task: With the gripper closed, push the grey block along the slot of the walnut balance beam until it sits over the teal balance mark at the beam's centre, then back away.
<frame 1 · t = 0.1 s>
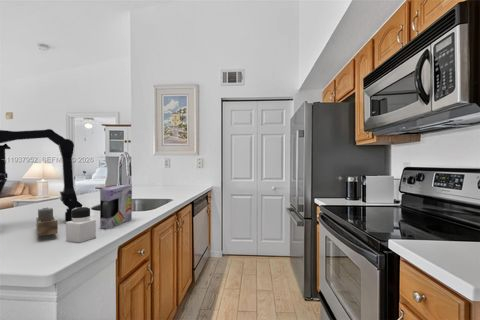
cake pan box: (116, 224, 127), on the worktop
medicine bottle: (81, 239, 104), on the worktop
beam: (46, 233, 112), on the worktop
grey block: (45, 214, 116), point 7 cm above the worktop, slide at -5.0 cm
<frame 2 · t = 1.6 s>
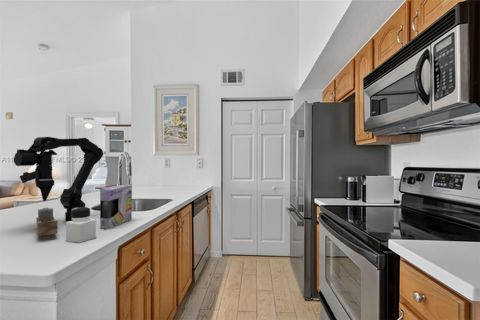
hand: (44, 200, 121), 12 cm above the worktop, tool pointing down, fingers closed
nothing on the worktop moved.
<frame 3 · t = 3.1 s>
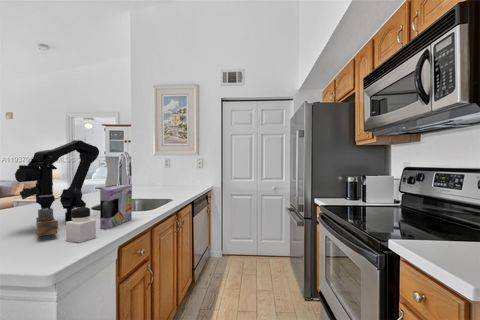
hand: (44, 216, 119), 6 cm above the worktop, tool pointing down, fingers closed
grey block: (45, 214, 115), point 7 cm above the worktop, slide at -4.8 cm, touching gripper
everything else where it was.
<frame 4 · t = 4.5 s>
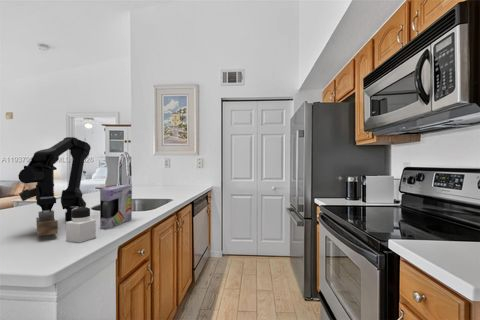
hand: (45, 218, 114), 6 cm above the worktop, tool pointing down, fingers closed
grey block: (46, 217, 111), point 7 cm above the worktop, slide at 1.1 cm, touching gripper
everything else where it was.
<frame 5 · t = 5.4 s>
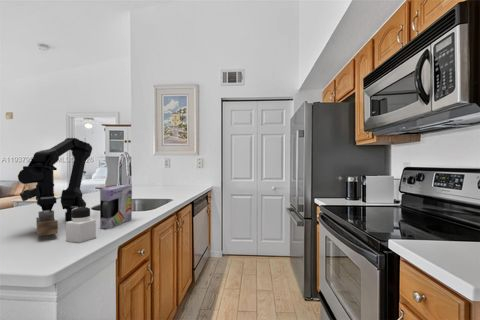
hand: (45, 218, 115), 5 cm above the worktop, tool pointing down, fingers closed
grey block: (46, 217, 111), point 7 cm above the worktop, slide at 1.1 cm
everything else where it was.
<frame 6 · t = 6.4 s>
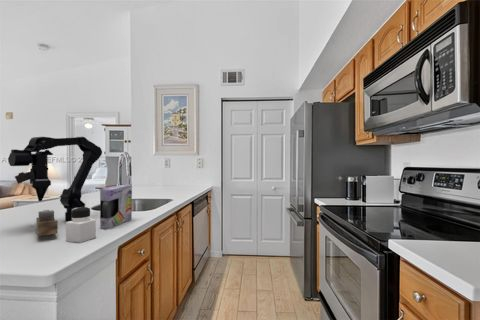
hand: (40, 201, 120), 12 cm above the worktop, tool pointing down, fingers closed
nothing on the worktop moved.
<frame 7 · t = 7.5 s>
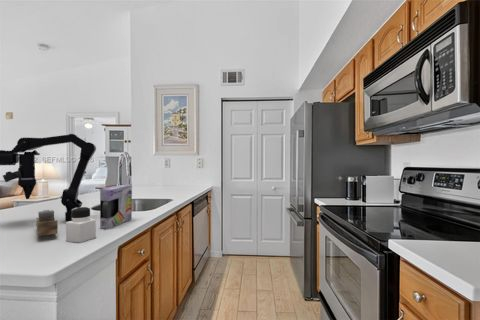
hand: (27, 198, 126), 12 cm above the worktop, tool pointing down, fingers closed
nothing on the worktop moved.
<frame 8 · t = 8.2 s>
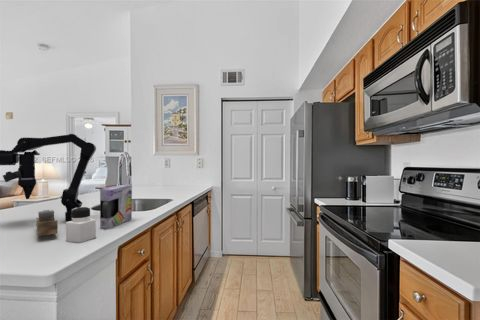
hand: (27, 198, 126), 12 cm above the worktop, tool pointing down, fingers closed
nothing on the worktop moved.
at the end: grey block slide at 1.1 cm; grey block touching nothing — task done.
